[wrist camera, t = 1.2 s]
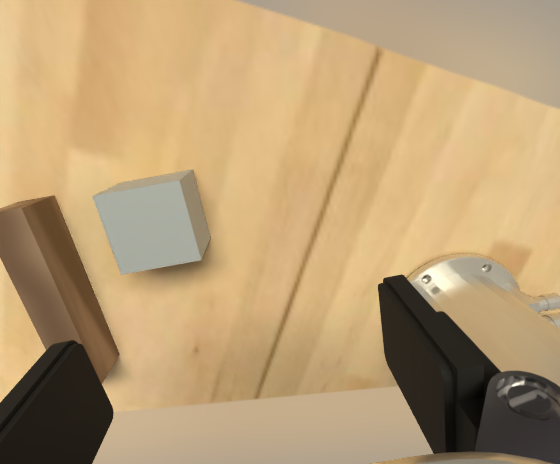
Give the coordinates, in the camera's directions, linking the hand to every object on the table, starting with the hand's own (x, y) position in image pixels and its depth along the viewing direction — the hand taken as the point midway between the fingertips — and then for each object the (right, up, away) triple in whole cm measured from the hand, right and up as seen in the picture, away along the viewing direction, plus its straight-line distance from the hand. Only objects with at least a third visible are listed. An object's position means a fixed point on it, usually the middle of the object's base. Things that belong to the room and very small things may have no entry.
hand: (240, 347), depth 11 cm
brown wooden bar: (-17, -1, +20) cm, 26 cm away
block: (-8, +5, +18) cm, 21 cm away
